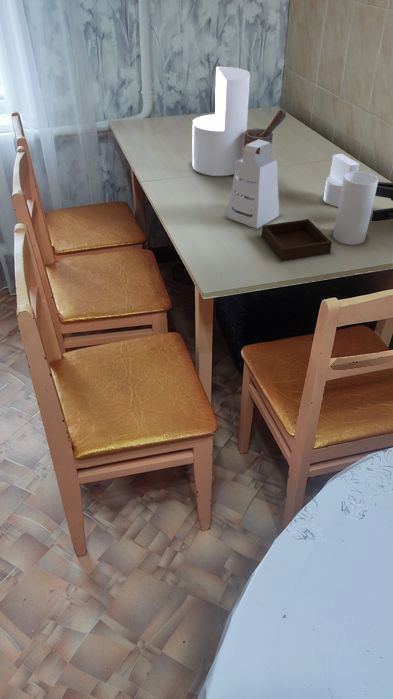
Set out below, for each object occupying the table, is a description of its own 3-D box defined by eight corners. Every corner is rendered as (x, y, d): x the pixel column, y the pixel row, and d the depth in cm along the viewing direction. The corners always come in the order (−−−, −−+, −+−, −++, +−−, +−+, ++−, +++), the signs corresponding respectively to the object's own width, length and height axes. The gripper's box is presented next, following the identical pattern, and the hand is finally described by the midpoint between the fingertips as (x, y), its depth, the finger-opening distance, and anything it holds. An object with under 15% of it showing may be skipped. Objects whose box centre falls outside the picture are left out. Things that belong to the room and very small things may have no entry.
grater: (226, 217, 150) (229, 144, 138) (248, 204, 157) (253, 134, 144) (256, 228, 145) (263, 154, 132) (279, 215, 151) (286, 143, 139)
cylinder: (238, 155, 187) (243, 65, 169) (249, 174, 174) (255, 79, 156) (189, 157, 185) (188, 67, 167) (195, 177, 172) (196, 81, 154)
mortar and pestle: (272, 167, 179) (278, 103, 166) (282, 177, 172) (289, 111, 159) (238, 170, 176) (242, 106, 163) (247, 181, 170) (252, 114, 157)
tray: (306, 230, 145) (308, 218, 142) (329, 253, 135) (332, 242, 133) (261, 236, 142) (262, 225, 140) (281, 261, 132) (282, 249, 130)
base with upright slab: (360, 203, 158) (369, 162, 150) (334, 208, 155) (341, 167, 147) (342, 191, 164) (350, 152, 156) (317, 196, 161) (323, 156, 154)
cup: (329, 230, 145) (339, 171, 134) (358, 228, 145) (371, 170, 135) (338, 245, 138) (350, 185, 128) (369, 243, 139) (383, 183, 129)
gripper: (457, 229, 134) (382, 240, 130) (400, 189, 153) (332, 198, 148) (467, 200, 130) (389, 211, 125) (407, 163, 148) (337, 171, 143)
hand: (358, 204), depth 136 cm, fingers open, 13 cm apart
